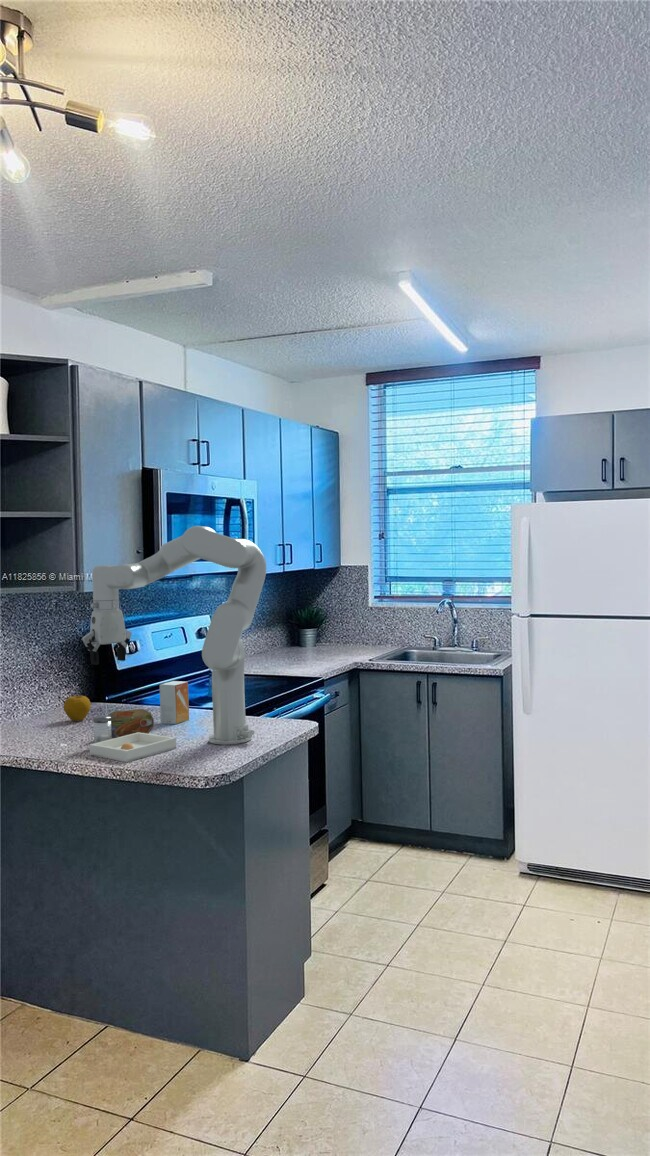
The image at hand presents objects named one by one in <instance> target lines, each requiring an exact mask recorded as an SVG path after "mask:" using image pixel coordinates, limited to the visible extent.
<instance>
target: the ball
mask: <svg viewBox="0 0 650 1156" xmlns="http://www.w3.org/2000/svg"><path fill="white" fill-rule="evenodd" d="M133 748H134V747H133V745H132V744H130V743H125V744H123V745H122V746H121V749H125V750H129V749H133Z"/></svg>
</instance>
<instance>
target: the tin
mask: <svg viewBox="0 0 650 1156" xmlns="http://www.w3.org/2000/svg"><path fill="white" fill-rule="evenodd" d="M107 715H108V716H111V729H112V739H114V738H118V737H122V736H126V735H130V734H134V733H138V732H140V733H147V734H151V732H152V730H153V728H154V725H155V724H154V721H155V720H154V716H153V715H152V714H151V712H150V711H148V710H147V709H144V708H137V709H126V710H125V709H124V710H116V711H115V710H114V711H112V712H111V713H108V714H107Z"/></svg>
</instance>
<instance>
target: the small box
mask: <svg viewBox="0 0 650 1156" xmlns="http://www.w3.org/2000/svg"><path fill="white" fill-rule="evenodd" d="M189 701H190V700H189V681H179V680H171V681H167V682H165V683H161V684H159V708H160V709H159V710H160V711H159V712H160V724H165V725H166V724H167V725H169V724H170V725H177V724H180V723H183V722H186V720H187V721H189V720H190V705H189V704H190V703H189Z"/></svg>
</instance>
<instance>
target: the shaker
mask: <svg viewBox="0 0 650 1156" xmlns="http://www.w3.org/2000/svg"><path fill="white" fill-rule="evenodd" d="M108 715H109V714H107V715H105V714H104V715H97V716H93V717H92V722H93V723H92V724H93V744H94V743H98V742H102V741H106V740H110V739H113V738H112V729H111V716H108Z"/></svg>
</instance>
